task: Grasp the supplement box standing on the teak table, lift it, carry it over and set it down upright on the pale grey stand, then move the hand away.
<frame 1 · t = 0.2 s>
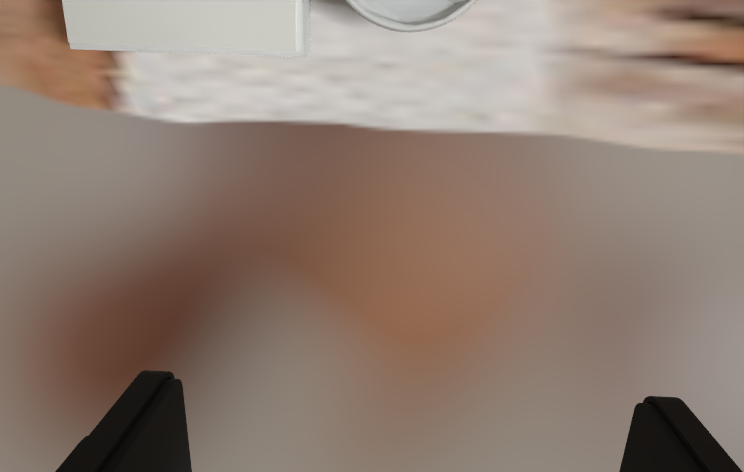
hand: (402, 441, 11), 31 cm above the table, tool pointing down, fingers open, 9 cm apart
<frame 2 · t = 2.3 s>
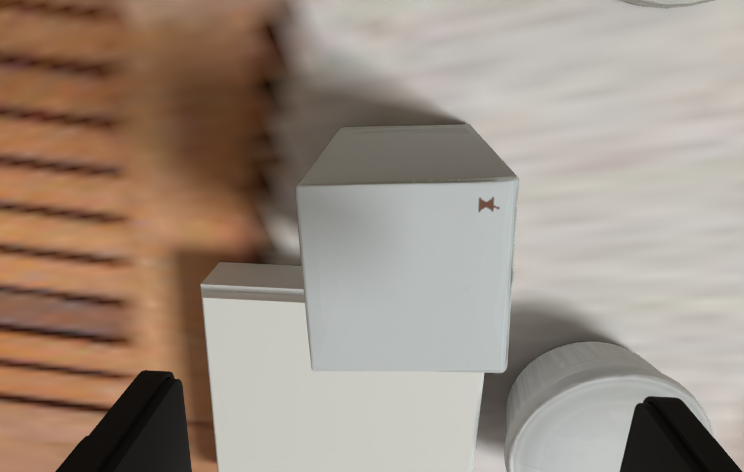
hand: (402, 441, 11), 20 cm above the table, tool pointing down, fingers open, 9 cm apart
ramekin: (577, 398, 33), on the table
supplement box: (404, 188, 29), on the table
stand: (348, 380, 33), on the table
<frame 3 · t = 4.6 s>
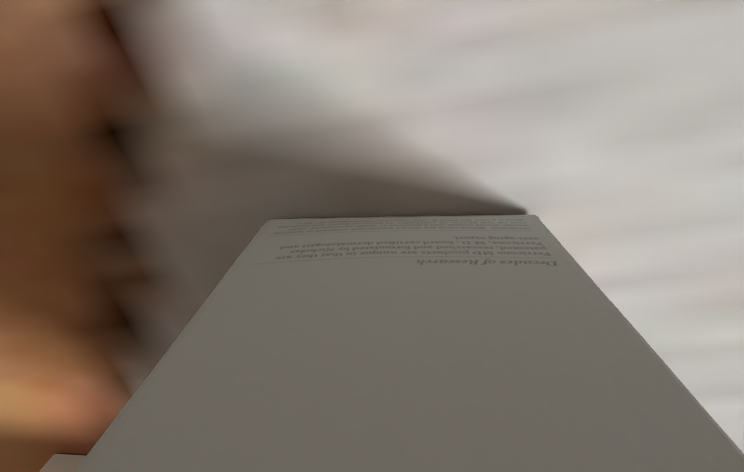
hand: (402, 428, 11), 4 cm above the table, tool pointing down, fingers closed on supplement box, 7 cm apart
supplement box: (400, 331, 15), on the table, touching gripper
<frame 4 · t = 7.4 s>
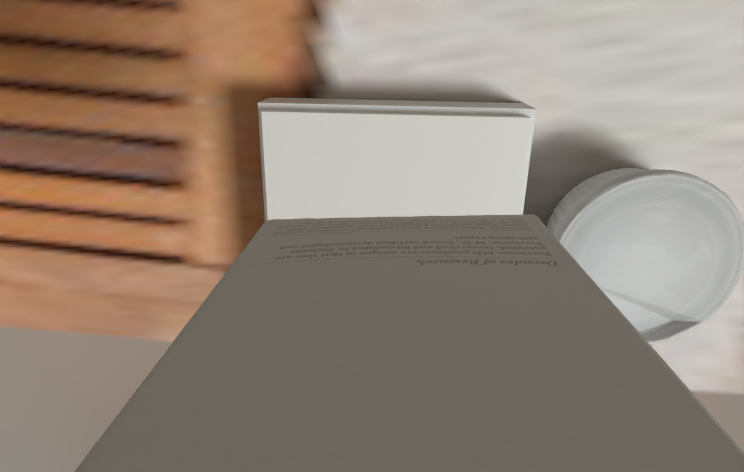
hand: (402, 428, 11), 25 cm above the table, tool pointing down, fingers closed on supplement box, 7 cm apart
ramekin: (611, 234, 35), on the table
supplement box: (400, 331, 15), point 20 cm above the table, touching gripper
stand: (392, 219, 35), on the table
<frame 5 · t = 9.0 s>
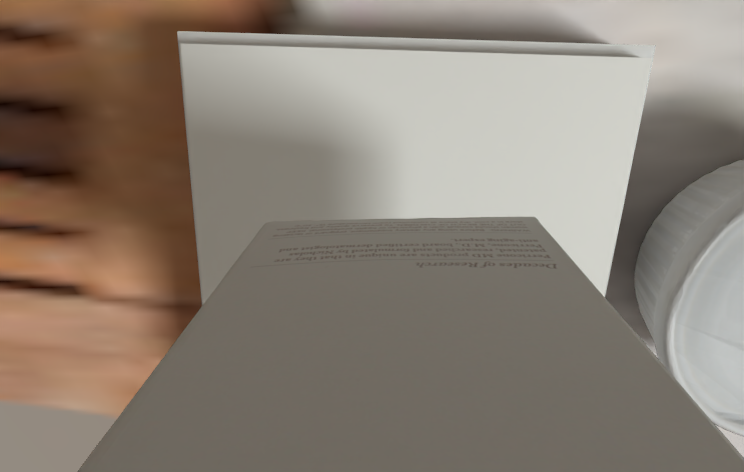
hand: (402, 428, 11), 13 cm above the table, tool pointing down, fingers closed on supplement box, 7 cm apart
ramekin: (735, 258, 23), on the table
supplement box: (399, 333, 15), point 9 cm above the table, touching gripper
stand: (400, 232, 23), on the table
when the fingers open (9 cm above the table, at t = 10.3 s): supplement box drops 1 cm, resting on stand.
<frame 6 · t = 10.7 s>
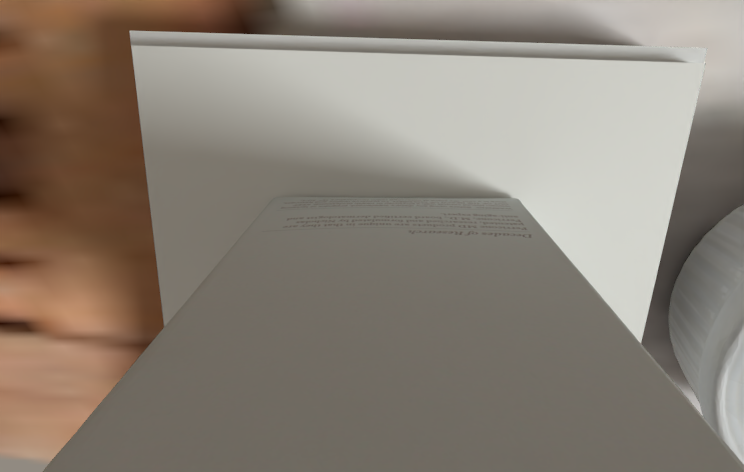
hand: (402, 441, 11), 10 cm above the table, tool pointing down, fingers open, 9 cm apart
supplement box: (392, 304, 16), point 4 cm above the table, touching stand
stand: (399, 263, 20), on the table
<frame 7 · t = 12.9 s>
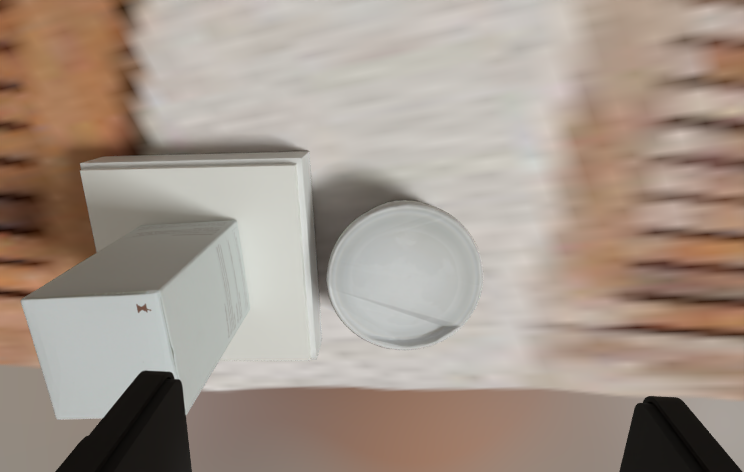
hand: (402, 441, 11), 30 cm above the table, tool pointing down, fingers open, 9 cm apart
ramekin: (403, 255, 41), on the table
supplement box: (198, 267, 38), point 4 cm above the table, touching stand
stand: (218, 252, 42), on the table
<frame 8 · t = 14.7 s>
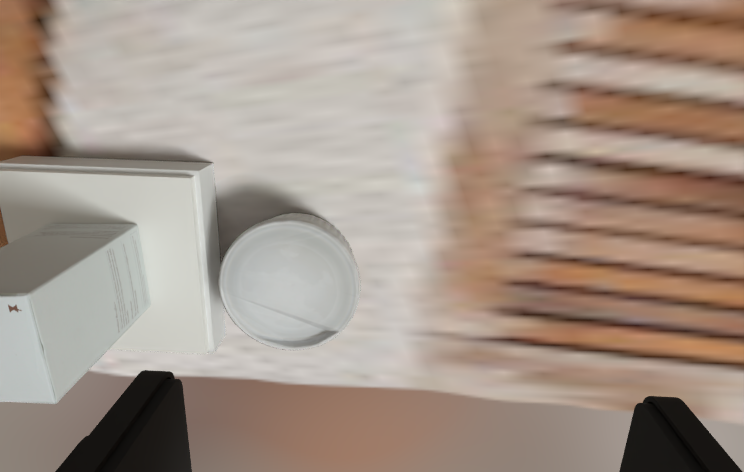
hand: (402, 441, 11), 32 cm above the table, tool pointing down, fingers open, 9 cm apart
ramekin: (300, 262, 45), on the table
supplement box: (103, 264, 41), point 4 cm above the table, touching stand
stand: (129, 249, 45), on the table
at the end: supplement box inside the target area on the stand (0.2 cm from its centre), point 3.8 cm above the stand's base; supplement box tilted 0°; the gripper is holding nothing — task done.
